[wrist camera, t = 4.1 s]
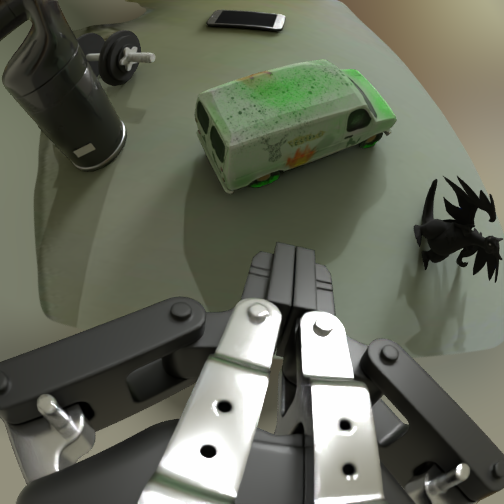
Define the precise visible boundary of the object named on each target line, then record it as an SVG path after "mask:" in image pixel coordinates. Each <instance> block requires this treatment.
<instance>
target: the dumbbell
mask: <svg viewBox="0 0 504 504" xmlns="http://www.w3.org/2000/svg"><path fill="white" fill-rule="evenodd" d="M77 41H78V43H79V45H80V47H81V49H82V51H83V53H84V55H85V57H86V59H87V60H88V62H89V64H90V66H91V68H92V70H93V72H94V73H95V75H96V77H97V76H98V75H99V74H100V76H101V78H102V80H103V81H104V82H105V83H107V84H109V85H112V86H117V85H121V84H123V83H125V82H126V81H128V80H129V79H130V78H131V76H132V75H133V74H134V72H135V71H136V69H137V67H138V64H139V62H145V63H151V62H154V60H155V55H154V54H153V53H141V47H140V43H139V40H138V38H137V36H136V35H135V34H134V33H133V32H131V31H127V30H122V31H118V32H116V33H114V34H112V35H111V36H110V37H109V38H108V39H107V40H106V41H104V40H103V38H102V37H101V36H99V35H98V34H94V33H88V34H84V35H82V36H80V37H79V38H78V39H77Z"/></svg>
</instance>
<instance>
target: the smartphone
mask: <svg viewBox="0 0 504 504" xmlns="http://www.w3.org/2000/svg"><path fill="white" fill-rule="evenodd" d="M285 19H286V17H285V16H284V15H280V14H272V13H263V12H252V11H237V10H217V11H215V12H214V13H213V14H212V16H211V17H210V18H209V20H208V21H207V25H208V26H221V27H240V28H252V29H262V30H271V31H281V30H282V29H283V26H284V22H285Z"/></svg>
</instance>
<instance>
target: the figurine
mask: <svg viewBox="0 0 504 504" xmlns="http://www.w3.org/2000/svg"><path fill="white" fill-rule="evenodd" d="M443 177H444V176H443ZM444 178H445V177H444ZM457 178H458V180H459V182H460V184H461V185H462V187H463V188H464V190H465V192H466V193H467V194H468V195H467V194H466V193H465V192H464V191H463V190H462V189H461V188H460V187H458V186H457V185H456V184H454V183H453V182H452V181H450V180H449V179H447V178H445V180H446V181H447V182H448V183H449V185H450V186H451V187H452V188H453V190H454V191H455V193H456V195H457V198H458V202H459V206H460V207H461V208H459V207H456V206H454V205H452V204H451V203H450V202H448V201H447V200H446V199H445V198H444V197H443V198H444V202H445V207H446V211H447V212H448V213H449V214H450V215H451V216H452V217H453V218H454V219H455V220H452V219H449V220H439V219H434V218H433V204H434V195H435V191H436V187H437V179H435V180H434V181H433V182H432V185H431V187H430V189H429V192H428V194H427V197H426V201H425V205H424V209H423V219H422V224H423V225H421V226H419V225H415V226H414V233H415V238H416V239H417V243H418V245H419V247H420V245H421V238H422V235H423V236H424V237H425V238H427V240H428V244H429V246H430V248H431V249H430V250H429V251H422V258H423V262H424V267H425V270H426V269H427V267H428V261H429V260H431V261H432V262H434V263H437V262H440V261H442V260H444V259H445V258H447V257H448V256H449V254H451V253H454V252H456V251H458V250H460V249H462V248H463V250H462V251H461V252H460V254H459V256H458V258H457V261H456V262H457V264H458V265H459V266H461V267H466V266H467V264H468V262H467V263H466V262H464V263H463V262H462V258H463V257H469V256H471V255H473V254H474V253H475V252H476V251H477V250H478V251H477V254H476V258H475V263H474V267H473V275H475V274H476V273H478V272H479V271H480V270H481V269H482V268H483V267H484V265H485V263H486V262H487V269H488V278H489V281H490V279H491V278H492V276H493V273H494V270H495V268H496V272H495V283H496V281H497V276H498V267H499V259H500V260H502V258H501V256H500V254H499V241H501V240H503V238H496V237H494V236H488V237H486V238H484V237H482V233H481V232H480V233H479V232H478V231H477V230H476V229H475V228H474V231H472V230H471V229H472V227H475V225H474V217H475V213H476V211H477V209H478V208H479V209H481V210H484V211H486V212H487V213H488V214H489V216H490V220H489V221H490V222H494V221H495V220H496V212H495V205H494V201H493V198H492V195H491V194H490V201H491V203H490V202H489V200H488V198H487V197H486V195H485V194H484V193H483V191H482V190H481V191H480V196H479V198H480V199H479V198H478V196H477V195H476V194H475V192H474V191H473V190H472V189H471V188H470V187H469V186H468V185H467V184H466V183H465V182H464V181H463V180H461V179H460V178H459V177H458V176H457Z"/></svg>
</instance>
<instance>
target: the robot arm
mask: <svg viewBox="0 0 504 504" xmlns="http://www.w3.org/2000/svg"><path fill="white" fill-rule="evenodd" d="M27 20H30V21H31V22H32V27H31V29H30V31H29V33H28V35H27V37H26V38H25V40H24V41H23V43H22V44H21V46H20V47H19V48H18V50H17V51H16V52H15V54H14V55H13V56H12V58H11V59H10V61H9V62H8V64H7V66H6V67H5V70H4V73H3V76H2V82H3V85H4V86H5V88H6V89H7V90H8V92H9V93H10V94H11V95H12V96H13V97H14V99H15V100H16V101H17V102H18V103H19V104H20V106H21V107H22V108H23V109H24V110H25V111H26V112H27V113H28V115H29V116H30V117H31V118H32V119H33V120H34V121H35V122H36V123H37V125H38V127H39V128H40V129H41V130H42V131H43V133H44V134H45V135H46V136H47V137H48V138H49V139H50V140H51V141H52V142H53V143H54V144H55V145H56V146H57V147H58V148H59V150H60V151H61V152H62V153H63V154H64V155H65V156H66V157H67V158H68V159H69V160H71V161H72V163H73V164H74V165H75V166H76V167H77V168H78V169H80V170H82V171H94V170H97V169H100V168H102V167H104V166H106V165H107V164H108V163H110V162H111V161H112V160H113V159H114V158H115V157H116V156H117V155H118V154H119V153H120V151H121V150H122V148H123V146H124V144H125V141H126V136H127V131H126V128H125V126H124V124H123V122H122V121H121V120H120V118H119V117H118V115H117V113H116V111H115V109H114V108H113V106H112V104H111V102H110V100H109V99H108V97H107V95H106V93H105V92H104V90H103V88H102V86H101V84H100V83H99V81H98V79H97V77H96V75H95V73H94V72H93V70H92V68H91V66H90V64H89V62H88V60H87V59H86V57H85V55H84V53H83V51H82V49H81V47H80V45H79V43H78V41H77V39H76V37H75V36H74V34H73V32H72V30H71V28H70V27H69V25H68V23H67V21H66V19H65V17H64V15H63V13H62V10H61V8H60V6H59V3H58V1H57V0H0V41H1V40H2V39H3V38H5V37H6V36H7V35H8V34H10V33H11V32H12V31H13V30H14V29H16V28H17V27H19V26H20V25H21V24H22V23H24V22H25V21H27ZM276 348H277V352H276V356H281V357H284V358H283V365H282V368H281V370H280V373H279V383H278V413H277V425H276V429H275V432H274V434H271V433H269V432H267V431H264V430H262V429H259V428H257V424H258V420H259V416H260V412H261V409H262V405H263V401H264V397H265V393H266V389H267V385H268V381H269V377H270V371H269V370H270V366H271V361H272V358H273V355H274V354H275V351H276ZM194 383H196V384H195V387H194V389H193V391H192V393H191V395H190V398H189V400H188V402H187V404H186V406H185V409H184V411H183V413H182V415H181V417H180V419H174V420H168V421H164V422H161V423H158V424H155V425H153V426H150V427H149V428H147V429H145V430H143V431H141V432H139V433H137V434H135V435H134V436H132V437H130V438H128V439H126V440H124V441H122V442H120V443H118V444H116V445H114V446H112V447H110V448H108V449H106V450H104V451H102V452H100V453H98V454H96V455H93V456H91V457H89V458H87V459H85V460H82V461H80V462H78V463H76V462H77V461H78V459H79V458H80V457H82V456H83V455H85V454H86V453H88V452H89V451H90V450H91V449H92V447H93V445H94V443H95V432H96V431H98V430H101V429H103V428H105V427H108V426H110V425H112V424H114V423H117V422H118V421H121V420H123V419H125V418H127V417H129V416H131V415H134V414H136V413H138V412H140V411H142V410H144V409H146V408H148V407H150V406H152V405H154V404H156V403H158V402H160V401H162V400H164V399H166V398H168V397H170V396H172V395H174V394H176V393H177V392H179V391H181V390H183V389H185V388H187V387H189V386H190V385H192V384H194ZM383 395H385V396H386V397H387V398H388V399H389V400H390V401H391V402H392V404H393V405H395V407H396V408H397V409H398V410H399V411H400V412H401V413H402V415H403V416H404V417H405V418H406V419H407V421H408V423H409V425H407V424H404V423H403V422H402V421H401V420H400V419H399V418H398V417H397V416H396V415H395V414H394V413H393V412H392V410H391V409H390V408H389V407H388V406H387V405H386V404H385V403H384V402H383V401H382V400H381V397H382V396H383ZM0 418H1V419H2V420H3V422H4V423H5V426H6V429H7V433H8V435H9V439H10V442H11V445H12V448H13V451H14V454H15V457H16V459H17V462H18V464H19V467H20V469H21V472H22V474H23V477H24V479H25V481H26V484H27V486H25V488H24V489H23V490H22V491H21V493H20V494H19V496H18V499H17V502H16V504H477V503H478V502H479V501H480V500H482V499H484V498H486V497H488V496H490V495H492V494H494V493H496V492H498V491H500V490H501V489H503V488H504V454H503V453H502V452H501V451H500V450H499V449H498V447H497V446H496V445H495V444H494V443H493V442H492V441H491V440H490V439H489V438H488V436H487V435H486V434H485V433H484V432H483V431H482V430H481V429H480V428H479V427H478V426H477V424H476V423H475V422H474V421H473V420H472V419H471V418H470V417H469V416H468V415H467V414H466V413H465V412H464V411H463V410H462V408H460V406H459V405H458V404H457V403H456V402H455V401H454V400H453V399H452V398H451V397H450V396H449V395H448V394H447V393H446V392H445V391H444V390H443V389H442V388H441V387H440V386H439V385H438V384H437V383H436V382H435V381H434V379H433V378H432V377H431V376H430V375H429V374H427V372H426V371H425V370H424V369H423V368H422V367H421V366H420V365H419V364H418V363H416V361H415V360H414V359H413V358H412V357H411V356H410V355H409V354H408V353H407V352H406V351H405V350H404V349H403V348H402V347H400V346H399V345H398V344H397V343H395V342H393V341H391V340H389V339H383V338H379V339H375V340H373V341H372V342H371V343H370V344H369V346H367V345H365V344H363V343H360V342H358V341H356V340H354V339H352V338H350V337H348V336H347V335H346V334H345V329H344V326H343V325H342V323H341V322H340V321H339V320H338V319H337V318H336V315H335V305H334V296H333V287H332V279H331V273H330V272H329V271H328V269H327V268H326V266H325V265H321V264H317V263H315V250H312V249H307V248H303V247H298V246H296V248H295V246H294V245H289V244H285V243H280V242H276V246H275V250H274V254H271V253H267V252H262V251H260V252H259V253H258V254H256V255H255V256H254V257H253V260H252V263H251V267H250V270H249V274H248V277H247V280H246V284H245V287H244V291H243V294H242V297H241V300H240V302H238V303H237V304H236V306H235V307H234V308H233V309H230V310H228V311H224V312H206V311H205V309H204V307H203V306H202V305H201V304H200V303H199V302H198V301H196V300H194V299H191V298H188V297H173V298H169V299H167V300H164V301H161V302H159V303H156V304H154V305H151V306H149V307H146V308H143V309H141V310H138V311H136V312H133V313H130V314H128V315H125V316H123V317H120V318H117V319H115V320H112V321H110V322H107V323H104V324H102V325H99V326H96V327H94V328H91V329H88V330H86V331H83V332H80V333H78V334H75V335H73V336H70V337H68V338H65V339H62V340H59V341H57V342H54V343H51V344H48V345H46V346H43V347H40V348H38V349H35V350H32V351H30V352H27V353H24V354H21V355H18V356H16V357H13V358H10V359H7V360H5V361H2V362H0ZM398 482H399V483H398ZM403 488H404V489H403Z"/></svg>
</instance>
